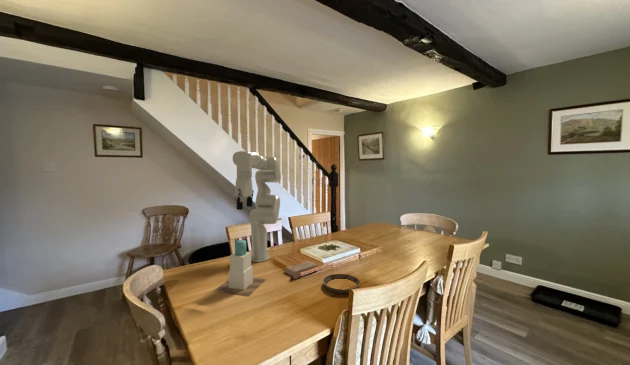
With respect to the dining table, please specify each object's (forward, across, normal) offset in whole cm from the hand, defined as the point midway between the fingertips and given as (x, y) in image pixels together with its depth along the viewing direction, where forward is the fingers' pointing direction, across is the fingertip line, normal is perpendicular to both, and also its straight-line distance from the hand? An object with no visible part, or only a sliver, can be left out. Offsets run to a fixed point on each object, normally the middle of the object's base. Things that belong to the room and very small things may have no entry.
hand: (244, 207), depth 134 cm
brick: (+37, -11, +27) cm, 47 cm away
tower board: (+36, +13, +5) cm, 39 cm away
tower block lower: (+35, +13, +5) cm, 37 cm away
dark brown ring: (+37, -1, +51) cm, 63 cm away
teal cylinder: (+20, +13, +5) cm, 24 cm away
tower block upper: (+27, +13, +5) cm, 30 cm away
